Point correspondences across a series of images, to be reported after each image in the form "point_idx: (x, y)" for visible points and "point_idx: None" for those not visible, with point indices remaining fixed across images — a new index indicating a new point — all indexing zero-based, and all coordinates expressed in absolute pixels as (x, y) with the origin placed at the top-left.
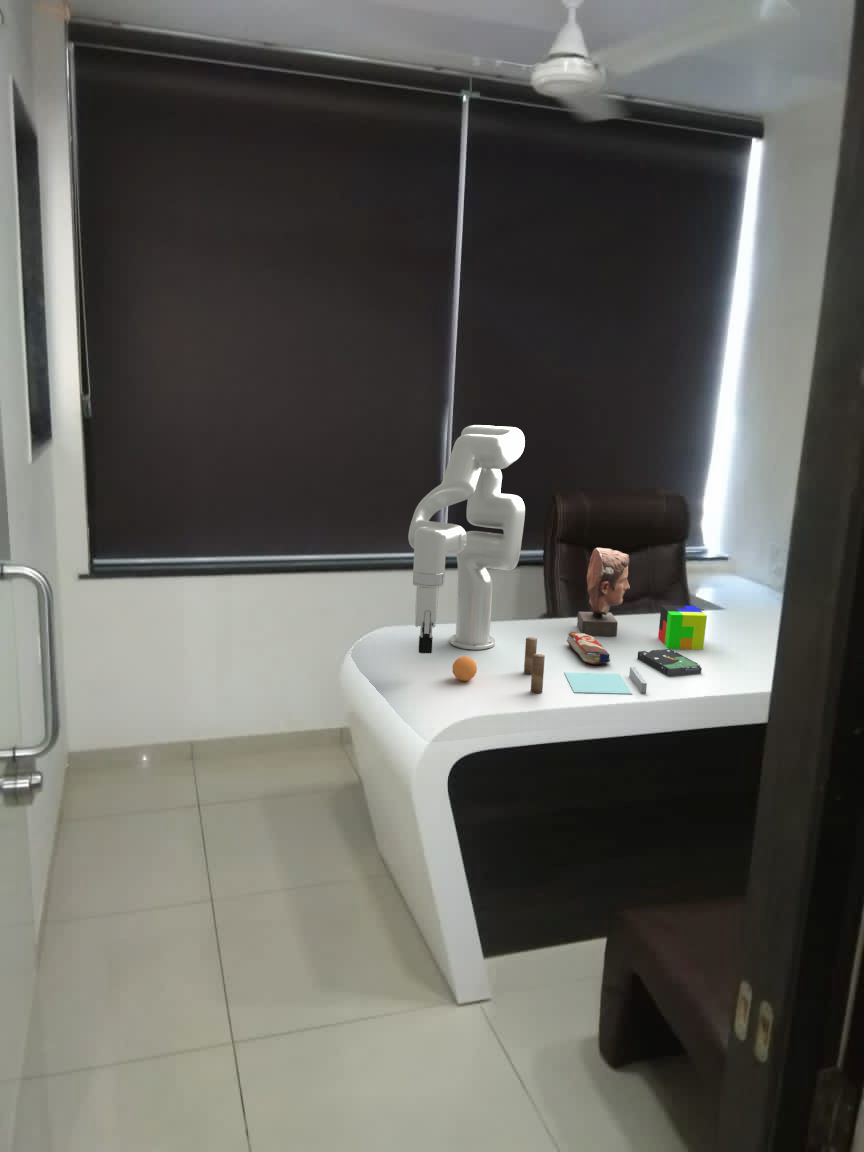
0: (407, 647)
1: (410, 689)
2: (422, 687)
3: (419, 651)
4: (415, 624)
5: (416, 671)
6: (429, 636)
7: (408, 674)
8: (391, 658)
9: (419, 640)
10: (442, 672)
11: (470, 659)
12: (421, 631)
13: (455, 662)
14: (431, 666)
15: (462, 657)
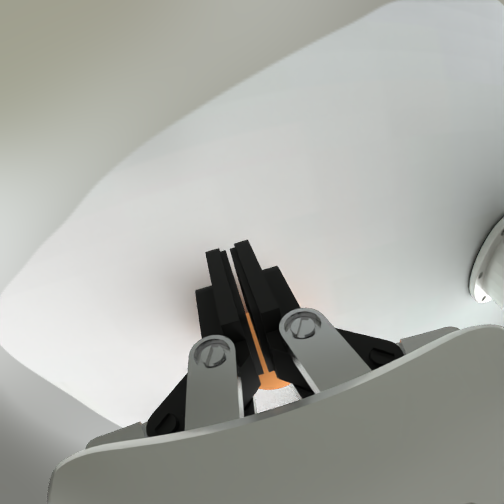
0: (495, 105)
1: (97, 189)
2: (136, 224)
3: (208, 257)
4: (56, 477)
5: (312, 154)
6: (272, 366)
7: (269, 129)
8: (421, 50)
9: (217, 306)
10: (319, 246)
11: (271, 389)
12: (187, 402)
13: (258, 348)
14: (372, 197)
15: (274, 376)
